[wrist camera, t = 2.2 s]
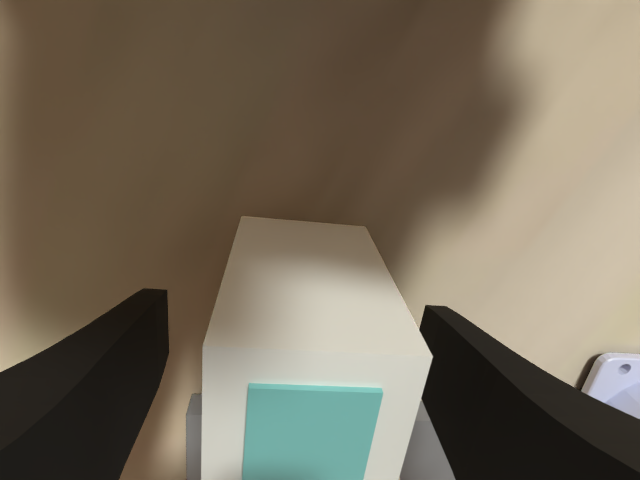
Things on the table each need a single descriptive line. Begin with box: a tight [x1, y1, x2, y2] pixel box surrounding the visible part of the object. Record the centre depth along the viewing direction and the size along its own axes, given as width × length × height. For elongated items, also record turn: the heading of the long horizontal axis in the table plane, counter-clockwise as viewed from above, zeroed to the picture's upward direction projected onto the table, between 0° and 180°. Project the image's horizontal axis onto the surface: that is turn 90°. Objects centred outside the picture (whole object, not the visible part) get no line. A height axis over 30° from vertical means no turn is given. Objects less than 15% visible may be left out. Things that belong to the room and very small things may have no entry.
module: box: [201, 216, 433, 480], centre depth 11 cm, size 4×4×7 cm
